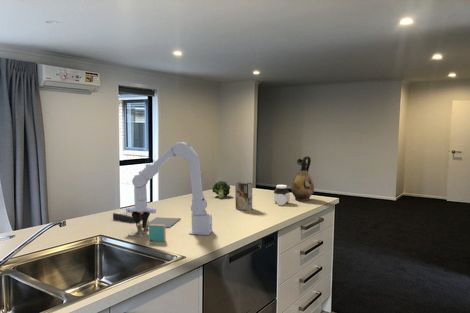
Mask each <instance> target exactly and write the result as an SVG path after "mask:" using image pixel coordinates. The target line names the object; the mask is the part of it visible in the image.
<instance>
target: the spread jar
mask: <svg viewBox="0 0 470 313" xmlns="http://www.w3.org/2000/svg"><path fill="white" fill-rule="evenodd" d="M275 186H276V188H275V189H274V190H273V201H274V203H276V204H278V206H283V205H286V204H288V203H289V202H290V196H291V195H290V190H289V189H288V187H287V186H288V185H286V184H277V185H275Z"/></svg>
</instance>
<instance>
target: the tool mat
mask: <svg viewBox="0 0 470 313" xmlns="http://www.w3.org/2000/svg"><path fill="white" fill-rule="evenodd" d="M181 220H182V218H179V217H159V216H157V217H156V216H155V218H153V219H151V220H149V225H150V224H160V225H165V227H166V229H170V228H171V227H173V226H174V225H175V224H177V223H178V222H180V221H181ZM149 225H148V228H149Z"/></svg>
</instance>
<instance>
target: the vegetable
mask: <svg viewBox="0 0 470 313" xmlns="http://www.w3.org/2000/svg"><path fill="white" fill-rule="evenodd" d="M211 190H212V193H215V194H216V195H218V196H217V197H218V198H219V199H223V198H224V197H227V196H229V194H230V190H231V186H230V184H228V183H227V182H226V181H224V180H223V181H222V180H219V181H217V182H215V183H214V184H213V186H212V189H211Z"/></svg>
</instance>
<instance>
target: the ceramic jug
mask: <svg viewBox="0 0 470 313" xmlns="http://www.w3.org/2000/svg"><path fill="white" fill-rule="evenodd" d="M311 158H312V157H310V156H308V155H307V156H304V157H303V158H302V159H301V158H298V159H297V160H296V164H297V165H299V166H301V167H300V170H299V171H298V173H297V174H296V175H295V177H294V178H293V180H292V183H291V187H290V188H291V193H292V195H293V197H294V198H295V201H301V202H306V201H309V200H310V198H311V197H312V195H313V194H314V193H315V184H314V181H313V179H312V177H311V175H310V173H309V169H310V165H311V162H312V161H311Z"/></svg>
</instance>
